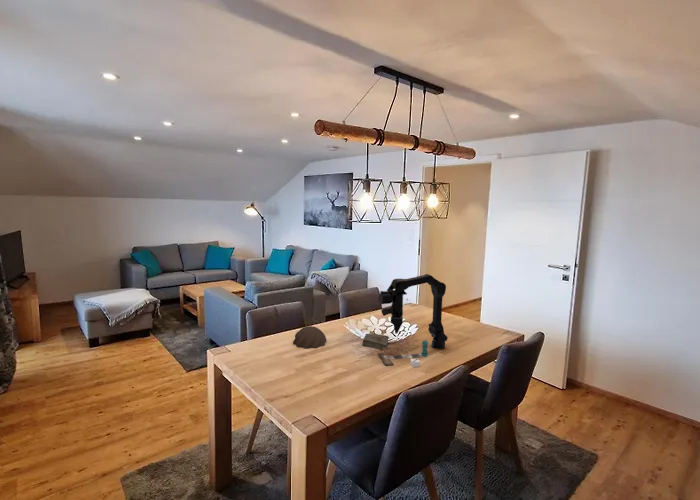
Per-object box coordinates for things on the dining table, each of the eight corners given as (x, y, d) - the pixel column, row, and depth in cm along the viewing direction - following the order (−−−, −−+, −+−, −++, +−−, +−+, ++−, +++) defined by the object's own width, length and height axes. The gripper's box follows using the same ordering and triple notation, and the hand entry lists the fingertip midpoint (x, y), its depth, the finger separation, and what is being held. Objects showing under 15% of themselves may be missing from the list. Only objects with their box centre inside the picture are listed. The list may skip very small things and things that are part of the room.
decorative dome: (299, 351, 208) (299, 334, 207) (289, 339, 226) (289, 323, 225) (331, 346, 216) (331, 329, 215) (319, 334, 234) (319, 319, 233)
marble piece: (386, 351, 211) (386, 344, 210) (360, 348, 214) (360, 341, 214) (390, 340, 227) (390, 334, 226) (366, 338, 230) (366, 331, 230)
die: (417, 366, 193) (417, 358, 192) (420, 369, 189) (420, 361, 188) (409, 366, 192) (410, 358, 192) (412, 370, 188) (412, 362, 188)
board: (426, 352, 211) (426, 349, 210) (436, 362, 197) (436, 360, 197) (378, 354, 205) (378, 352, 205) (385, 366, 192) (385, 363, 192)
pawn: (426, 353, 205) (427, 339, 204) (429, 356, 201) (429, 341, 200) (420, 354, 204) (420, 339, 203) (422, 356, 201) (423, 341, 200)
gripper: (383, 297, 212) (382, 323, 214) (381, 306, 194) (380, 335, 196) (403, 298, 211) (402, 325, 213) (403, 307, 192) (402, 337, 194)
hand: (396, 330), depth 204 cm, fingers open, 9 cm apart
